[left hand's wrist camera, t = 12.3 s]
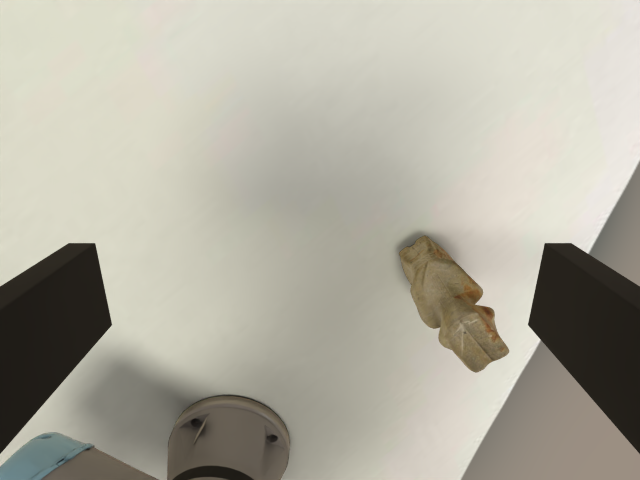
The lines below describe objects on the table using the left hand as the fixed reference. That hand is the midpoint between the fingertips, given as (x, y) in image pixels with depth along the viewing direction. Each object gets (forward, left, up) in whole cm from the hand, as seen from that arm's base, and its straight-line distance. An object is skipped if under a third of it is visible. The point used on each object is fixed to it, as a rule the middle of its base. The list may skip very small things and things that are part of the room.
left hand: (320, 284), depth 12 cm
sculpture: (-9, -14, -30) cm, 35 cm away
